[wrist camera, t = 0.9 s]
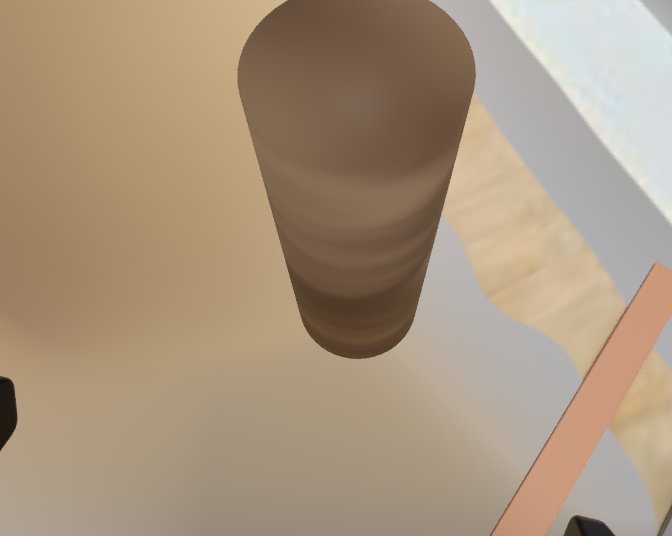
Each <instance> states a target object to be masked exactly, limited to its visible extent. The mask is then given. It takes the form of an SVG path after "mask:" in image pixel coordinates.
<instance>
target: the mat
mask: <svg viewBox="0 0 672 536" xmlns="http://www.w3.org/2000/svg"><path fill="white" fill-rule="evenodd" d="M657 536H672V508H671V510H670V512H669V514H668V516H667V518H666V520H665V522H664V523H663V525H662V527H661V529H660V531H659V533H658V535H657Z"/></svg>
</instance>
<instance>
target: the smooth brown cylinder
mask: <svg viewBox="0 0 672 536" xmlns="http://www.w3.org/2000/svg"><path fill="white" fill-rule="evenodd" d="M475 77H476V73H475V62H474V56H473V52H472V50H471V47H470V44H469V42H468V40H467V38H466V37H465V35H464V33H463V31H462V30H461V28H460V27H459V26H458V25H457V23H456V22H455V21H454V20H453V19H452V18H451V17H450V16H449V15H448V14H447V13H446V12H445V11H443V10H442V9H441V8H439V7H438V6H437V5H435V4H434V3H432V2H430V1H429V0H288V1H286V2H285V3H283V4H282V5H280V6H278V7H277V8H275V9H274V10H273V11H272V12H271V13H269V14H268V15H267V16H266V17H265V18H264V19H263V20H262V21H261V22H260V23H259V24H258V25H257V26H256V28H255V29H254V31H253V32H252V34H251V35H250V36H249V38H248V40H247V42H246V44H245V46H244V48H243V50H242V53H241V56H240V60H239V66H238V88H239V94H240V98H241V101H242V105H243V109H244V112H245V115H246V120H247V123H248V127H249V130H250V134H251V137H252V141H253V145H254V149H255V152H256V156H257V159H258V163H259V166H260V170H261V174H262V177H263V181H264V185H265V188H266V192H267V195H268V199H269V203H270V206H271V210H272V213H273V217H274V221H275V225H276V228H277V231H278V235H279V239H280V243H281V246H282V250H283V254H284V257H285V260H286V264H287V268H288V272H289V275H290V279H291V283H292V286H293V290H294V293H295V297H296V301H297V304H298V308H299V312H300V315H301V318H302V321H303V324H304V326H305V328H306V330H307V332H308V333H309V335H310V336H311V337H312V338H313V339H314V341H315V342H316V343H317V344H319V345H320V346H321V347H322V348H324V349H326V350H327V351H329V352H331V353H333V354H335V355H338V356H341V357H346V358H353V359H362V358H369V357H374V356H377V355H380V354H383V353H384V352H387V351H389V350H390V349H392V348H393V347H394V346H396V345H397V344H398V343H399V342H400V341H401V340H402V339H403V338H404V337H405V335H406V334H407V332H408V331H409V329H410V327H411V325H412V323H413V319H414V316H415V312H416V309H417V305H418V301H419V297H420V293H421V289H422V285H423V282H424V278H425V274H426V270H427V267H428V263H429V259H430V255H431V251H432V248H433V244H434V240H435V236H436V232H437V228H438V224H439V221H440V217H441V213H442V209H443V205H444V202H445V198H446V194H447V190H448V186H449V183H450V179H451V175H452V171H453V167H454V163H455V160H456V156H457V152H458V148H459V144H460V141H461V137H462V133H463V129H464V125H465V121H466V118H467V114H468V110H469V106H470V102H471V98H472V95H473V91H474V84H475Z"/></svg>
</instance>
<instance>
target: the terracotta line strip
mask: <svg viewBox="0 0 672 536" xmlns="http://www.w3.org/2000/svg"><path fill="white" fill-rule="evenodd" d="M671 314H672V271H671V270H670V269H668V268H666V267H664V266H663V265H661V264H659V263H657V262H656V263H655V264H654V265H653V266H652V268H651V270H650V271H649V273H648V275H647V276H646V278H645V280H644V281H643V283H642V285H641V286H640V288H639V290H638V291H637V293H636V295H635V296H634V298H633V300H632V301H631V303H630V304H629V306H628V308H627V309H626V311H625V313H624V314H623V316H622V318H621V319H620V321H619V323H618V324H617V326H616V328H615V329H614V331H613V333H612V334H611V336H610V338H609V339H608V341H607V343H606V344H605V346H604V347H603V349H602V351H601V352H600V354H599V356H598V357H597V359H596V361H595V362H594V364H593V366H592V367H591V369H590V371H589V372H588V374H587V376H586V377H585V379H584V381H583V382H582V384H581V386H580V387H579V389H578V391H577V392H576V394H575V395H574V397H573V399H572V400H571V402H570V404H569V405H568V407H567V409H566V411H565V412H564V414H563V415H562V417H561V419H560V420H559V422H558V424H557V425H556V427H555V429H554V430H553V432H552V434H551V435H550V437H549V439H548V440H547V442H546V443H545V445H544V447H543V449H542V450H541V452H540V454H539V455H538V457H537V458H536V460H535V462H534V463H533V465H532V467H531V468H530V470H529V472H528V473H527V475H526V477H525V478H524V480H523V482H522V483H521V485H520V487H519V488H518V490H517V491H516V493H515V495H514V496H513V498H512V500H511V502H510V503H509V505H508V506H507V508H506V510H505V511H504V513H503V515H502V516H501V518H500V520H499V521H498V523H497V525H496V526H495V528H494V530H493V531H492V533H491V534H490V536H545V534H546V533H547V531H548V529H549V527H550V526H551V524H552V522H553V521H554V519H555V517H556V515H557V514H558V512H559V510H560V508H561V507H562V505H563V503H564V501H565V499H566V498H567V496H568V494H569V492H570V491H571V489H572V487H573V485H574V484H575V482H576V480H577V478H578V477H579V475H580V473H581V471H582V470H583V468H584V466H585V465H586V463H587V461H588V459H589V458H590V456H591V454H592V452H593V451H594V449H595V447H596V445H597V443H598V442H599V440H600V438H601V436H602V435H603V433H604V431H605V430H606V428H607V426H608V424H609V423H610V421H611V419H612V417H613V416H614V414H615V412H616V410H617V409H618V407H619V405H620V403H621V402H622V400H623V398H624V396H625V395H626V393H627V391H628V389H629V388H630V386H631V384H632V382H633V381H634V379H635V377H636V375H637V374H638V372H639V370H640V368H641V367H642V365H643V363H644V361H645V360H646V358H647V356H648V354H649V353H650V351H651V349H652V347H653V346H654V344H655V342H656V340H657V339H658V337H659V335H660V333H661V332H662V330H663V328H664V326H665V325H666V323H667V321H668V319H669V318H670V316H671Z"/></svg>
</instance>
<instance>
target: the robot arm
mask: <svg viewBox="0 0 672 536" xmlns="http://www.w3.org/2000/svg"><path fill="white" fill-rule="evenodd" d="M16 425H17V408H16V398H15V389H14V384H13V382H12V381H11V380H10V379H9V378H6V377H3V376H0V451H1V449H2V448H3V446H4V445H5V444H6V442H7V441H8V440H9V438H10V437H11V435H12V434H13V432H14V430H15V428H16ZM564 536H615V535H614V534H613V532H612V531H611V530H610V529H609V528H608V526H607V525H606V524H605V523H603V522H602V521H599V520H596V519H591V518H588V517H583V516H579V515H576V516H573V517H572V518H571V519H570V521H569V523H568V526H567V528H566V531H565V534H564Z"/></svg>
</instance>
